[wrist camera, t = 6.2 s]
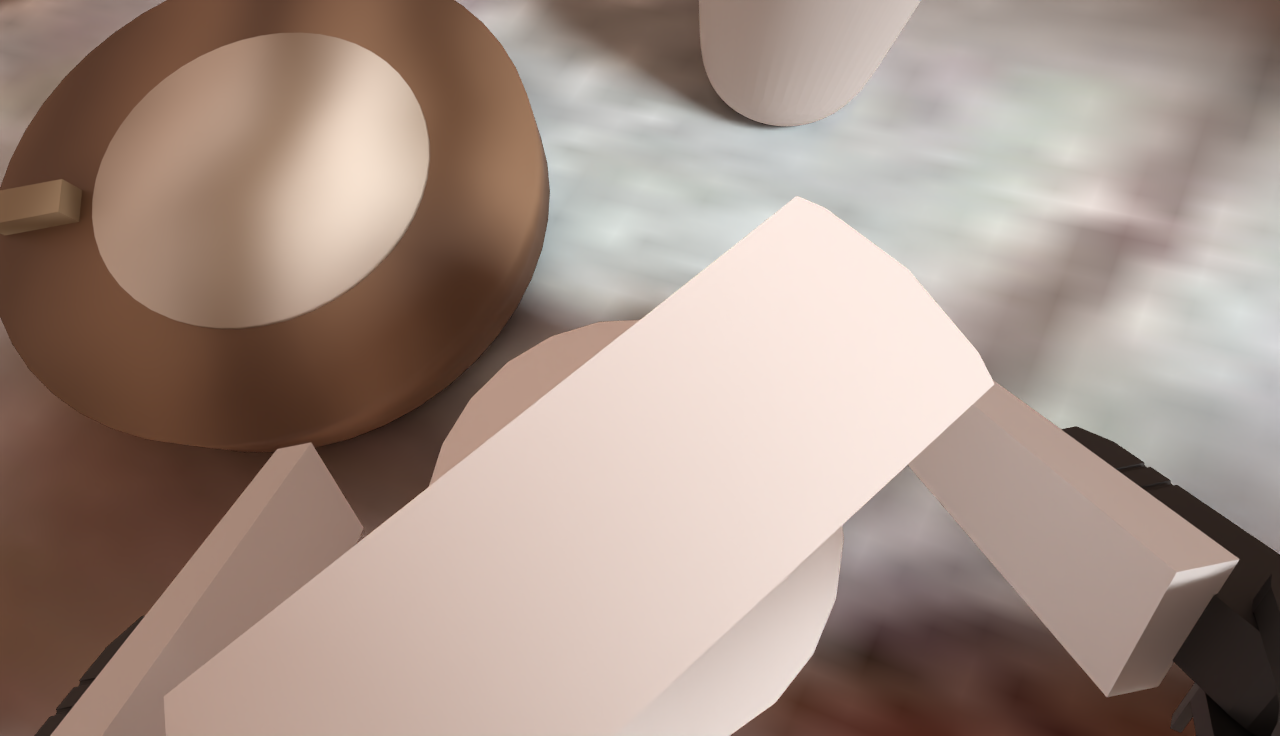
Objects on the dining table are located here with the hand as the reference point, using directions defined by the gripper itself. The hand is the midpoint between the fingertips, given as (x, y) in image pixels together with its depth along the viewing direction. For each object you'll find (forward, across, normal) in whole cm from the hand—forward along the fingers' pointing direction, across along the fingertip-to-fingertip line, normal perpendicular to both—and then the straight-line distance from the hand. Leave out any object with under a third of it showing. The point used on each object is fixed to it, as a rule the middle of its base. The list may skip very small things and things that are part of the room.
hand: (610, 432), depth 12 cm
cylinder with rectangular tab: (+3, 0, -5) cm, 6 cm away
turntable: (+12, -10, +4) cm, 16 cm away
